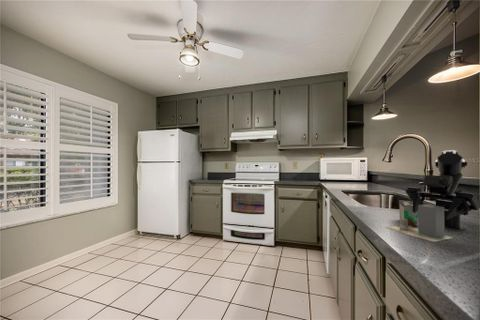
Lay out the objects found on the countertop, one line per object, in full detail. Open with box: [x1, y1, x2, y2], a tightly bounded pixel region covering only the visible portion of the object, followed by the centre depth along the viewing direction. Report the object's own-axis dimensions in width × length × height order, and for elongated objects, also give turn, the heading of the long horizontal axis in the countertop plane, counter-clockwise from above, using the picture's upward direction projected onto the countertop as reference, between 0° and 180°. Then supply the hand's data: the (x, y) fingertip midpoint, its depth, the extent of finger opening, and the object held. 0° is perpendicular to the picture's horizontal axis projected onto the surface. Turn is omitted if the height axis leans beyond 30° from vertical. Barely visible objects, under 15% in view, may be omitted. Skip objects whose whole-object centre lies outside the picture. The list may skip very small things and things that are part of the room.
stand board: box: [386, 217, 454, 243], centre depth 73 cm, size 11×15×5 cm
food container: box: [398, 199, 418, 227], centre depth 84 cm, size 12×6×10 cm, turn 149°
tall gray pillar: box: [417, 203, 446, 238], centre depth 71 cm, size 5×5×10 cm
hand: (428, 215), depth 70 cm, fingers open, 9 cm apart
